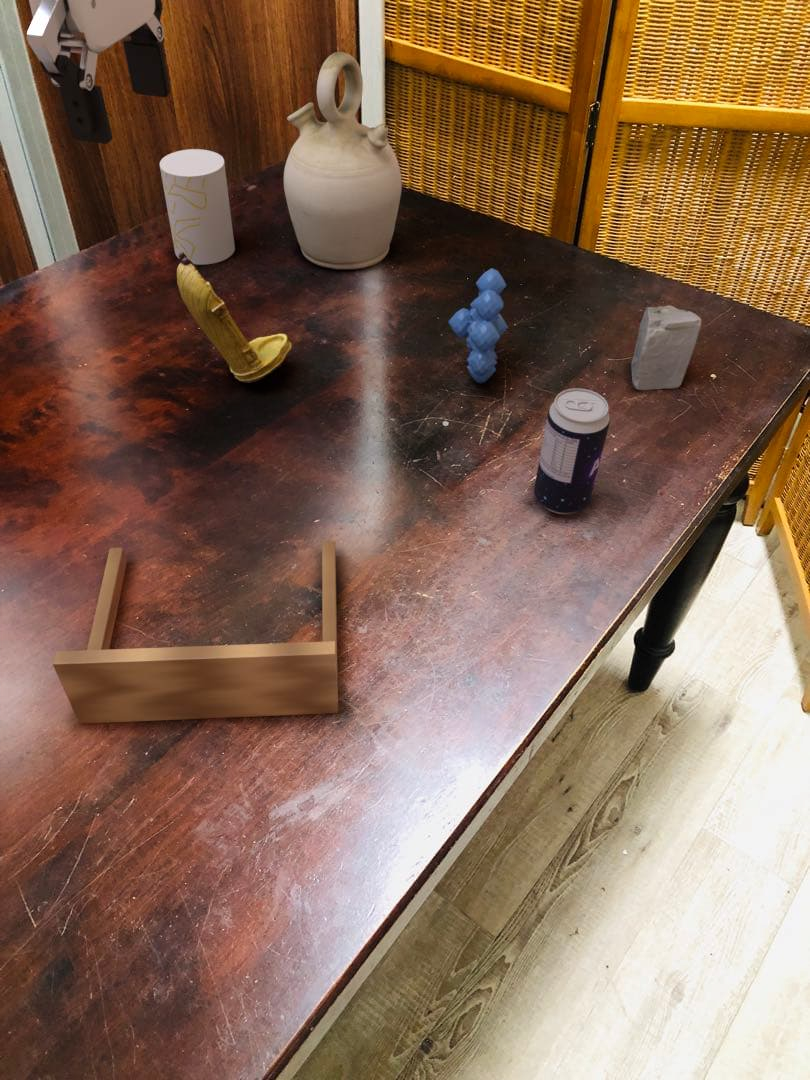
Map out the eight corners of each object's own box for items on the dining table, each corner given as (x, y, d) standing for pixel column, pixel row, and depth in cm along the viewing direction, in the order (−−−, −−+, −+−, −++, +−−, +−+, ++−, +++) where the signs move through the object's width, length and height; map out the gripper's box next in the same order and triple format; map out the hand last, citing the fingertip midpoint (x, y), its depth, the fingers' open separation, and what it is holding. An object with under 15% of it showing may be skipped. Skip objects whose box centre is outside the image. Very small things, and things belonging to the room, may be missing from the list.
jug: (266, 246, 122) (248, 49, 104) (351, 212, 130) (348, 24, 112) (336, 290, 115) (330, 87, 97) (422, 252, 122) (431, 57, 104)
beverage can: (588, 523, 86) (612, 427, 78) (530, 515, 87) (548, 419, 78) (590, 484, 90) (613, 389, 82) (534, 477, 91) (552, 382, 82)
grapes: (450, 337, 108) (457, 246, 99) (505, 343, 108) (516, 252, 99) (439, 394, 100) (446, 300, 91) (499, 400, 100) (511, 307, 91)
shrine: (190, 395, 99) (167, 274, 88) (197, 353, 104) (176, 235, 93) (293, 393, 99) (282, 273, 88) (294, 352, 105) (285, 233, 94)
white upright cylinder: (162, 252, 120) (146, 164, 112) (204, 229, 125) (191, 144, 116) (206, 270, 117) (192, 182, 109) (246, 246, 122) (237, 160, 113)
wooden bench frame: (79, 724, 69) (52, 664, 64) (114, 562, 81) (94, 499, 75) (338, 713, 71) (335, 653, 65) (335, 555, 82) (333, 493, 77)
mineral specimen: (707, 378, 102) (714, 323, 96) (638, 402, 102) (641, 349, 96) (676, 341, 107) (681, 287, 101) (610, 364, 107) (611, 311, 100)
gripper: (83, -177, 64) (132, 74, 77) (-65, -133, 53) (21, 154, 65) (177, -171, 63) (212, 83, 75) (46, -124, 52) (113, 167, 64)
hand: (123, 116), depth 70 cm, fingers open, 9 cm apart
